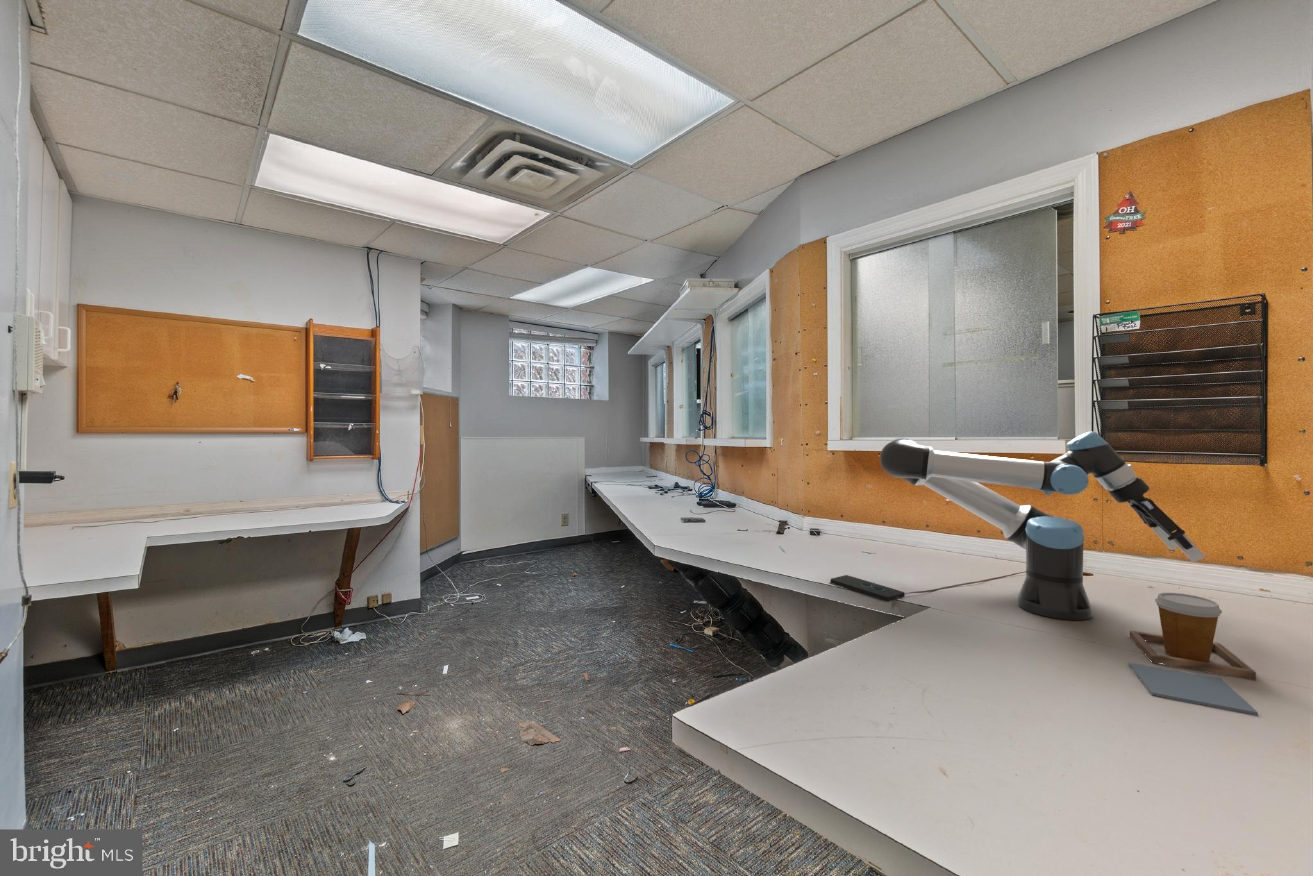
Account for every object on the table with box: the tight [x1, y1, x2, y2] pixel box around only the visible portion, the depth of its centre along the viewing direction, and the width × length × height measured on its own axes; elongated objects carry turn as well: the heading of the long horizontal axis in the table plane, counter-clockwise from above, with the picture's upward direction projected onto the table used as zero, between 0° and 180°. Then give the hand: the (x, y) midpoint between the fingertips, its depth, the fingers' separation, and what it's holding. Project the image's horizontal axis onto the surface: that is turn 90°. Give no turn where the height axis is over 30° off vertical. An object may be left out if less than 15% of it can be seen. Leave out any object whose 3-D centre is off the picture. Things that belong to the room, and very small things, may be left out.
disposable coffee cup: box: [1154, 592, 1223, 663], centre depth 104 cm, size 10×10×12 cm
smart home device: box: [830, 574, 905, 602], centre depth 149 cm, size 8×2×20 cm
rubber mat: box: [1128, 662, 1259, 716], centre depth 92 cm, size 13×13×1 cm
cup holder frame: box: [1128, 629, 1257, 681], centre depth 104 cm, size 14×14×2 cm
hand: (1187, 553), depth 128 cm, fingers open, 13 cm apart
